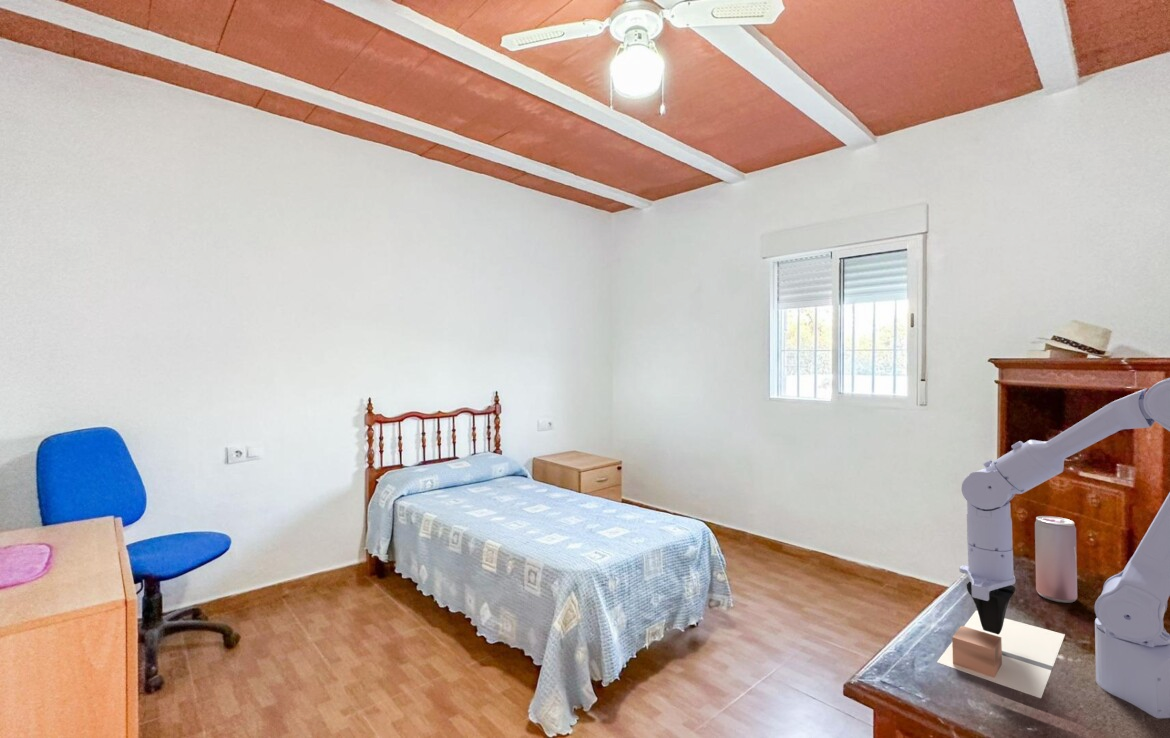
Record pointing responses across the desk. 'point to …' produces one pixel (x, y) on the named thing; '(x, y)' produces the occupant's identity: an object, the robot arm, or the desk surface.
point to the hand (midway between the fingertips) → (992, 630)
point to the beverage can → (1056, 558)
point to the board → (1018, 655)
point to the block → (977, 651)
